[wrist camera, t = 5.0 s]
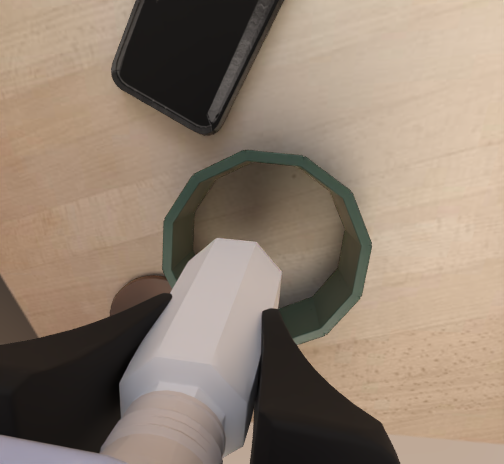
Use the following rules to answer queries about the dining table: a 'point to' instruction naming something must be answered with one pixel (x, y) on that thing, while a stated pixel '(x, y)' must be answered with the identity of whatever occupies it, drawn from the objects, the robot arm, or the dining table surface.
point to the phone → (191, 55)
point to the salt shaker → (199, 361)
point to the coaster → (139, 292)
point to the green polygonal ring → (333, 290)
